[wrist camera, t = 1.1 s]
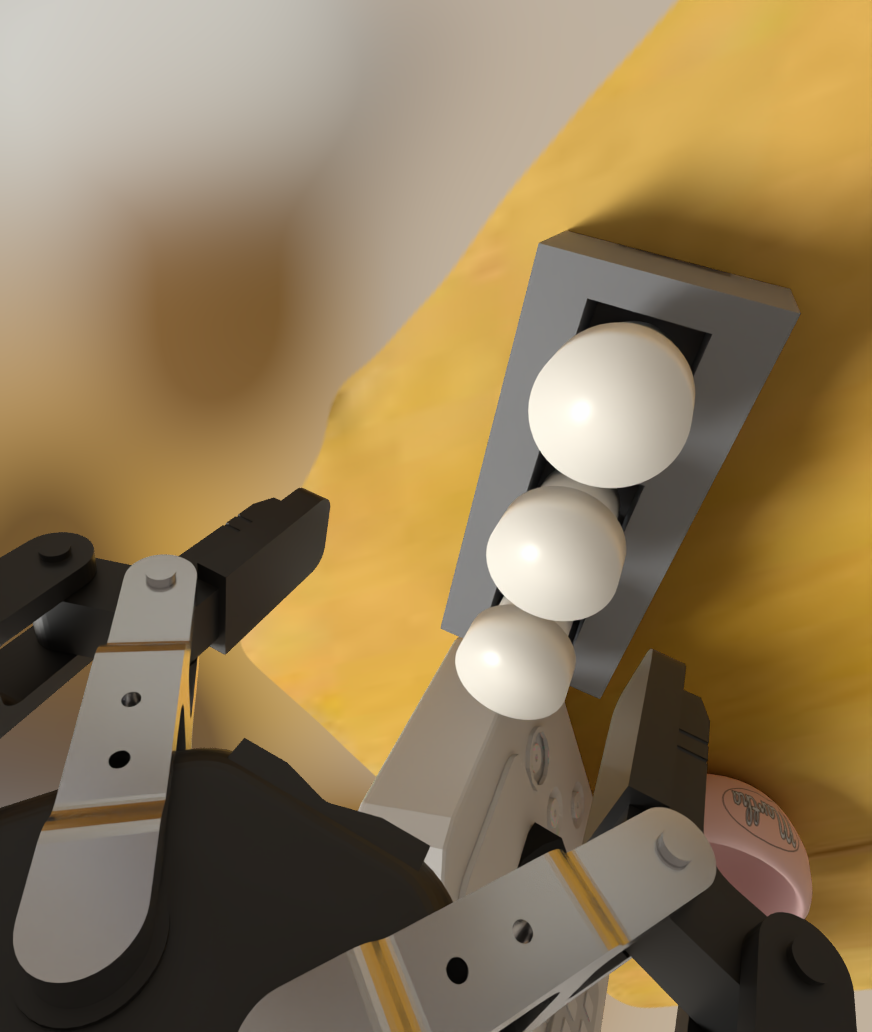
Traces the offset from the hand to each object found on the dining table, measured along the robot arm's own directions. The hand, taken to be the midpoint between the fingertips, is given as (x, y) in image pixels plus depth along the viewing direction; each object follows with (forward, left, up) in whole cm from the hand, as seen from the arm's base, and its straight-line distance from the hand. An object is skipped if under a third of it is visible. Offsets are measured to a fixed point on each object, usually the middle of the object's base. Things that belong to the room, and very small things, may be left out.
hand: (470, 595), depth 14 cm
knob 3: (-1, +13, -16) cm, 21 cm away
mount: (-1, +6, -20) cm, 21 cm away
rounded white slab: (-6, +31, -21) cm, 38 cm away
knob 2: (-1, +6, -16) cm, 17 cm away
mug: (-16, +27, -21) cm, 37 cm away
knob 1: (-1, -1, -16) cm, 16 cm away
